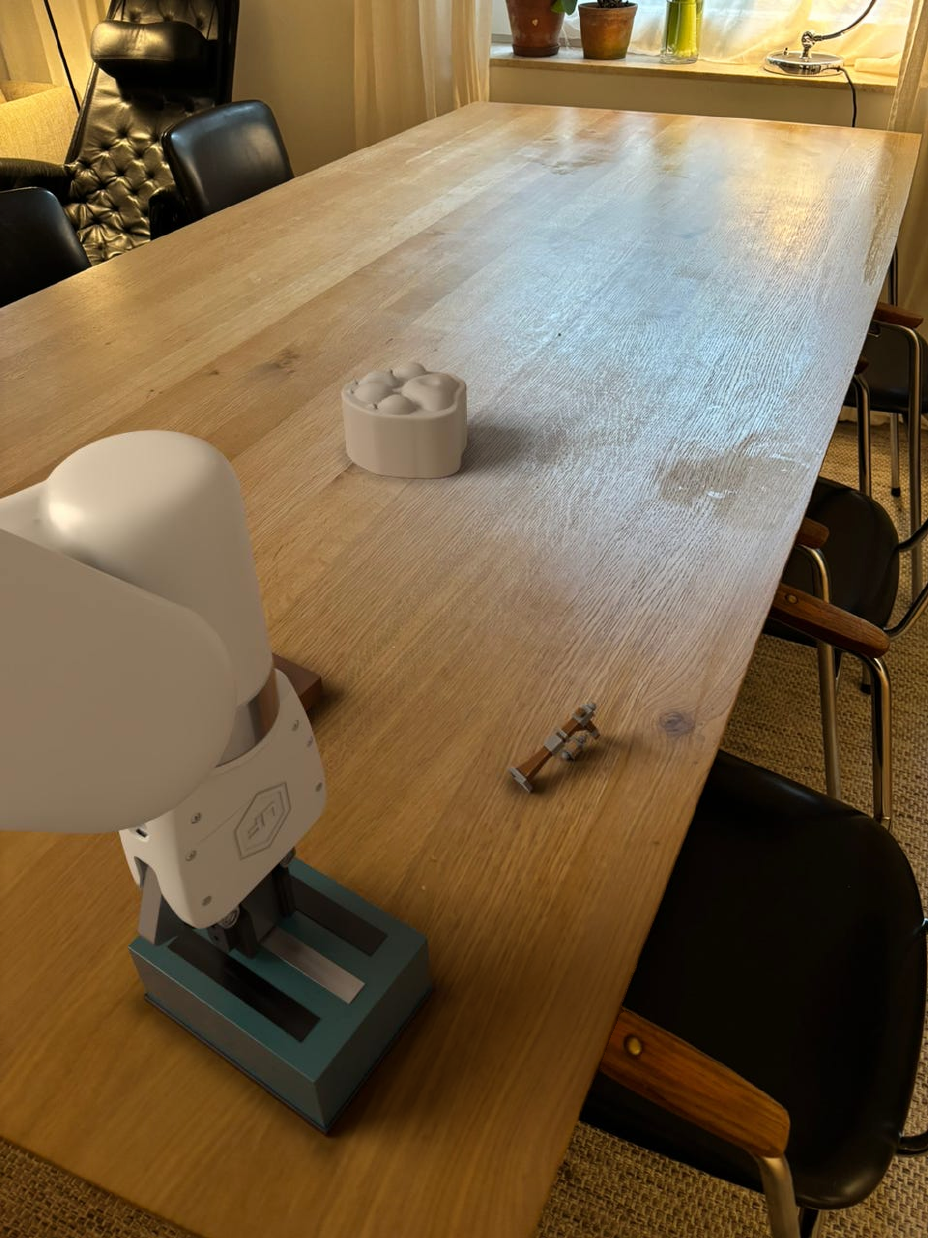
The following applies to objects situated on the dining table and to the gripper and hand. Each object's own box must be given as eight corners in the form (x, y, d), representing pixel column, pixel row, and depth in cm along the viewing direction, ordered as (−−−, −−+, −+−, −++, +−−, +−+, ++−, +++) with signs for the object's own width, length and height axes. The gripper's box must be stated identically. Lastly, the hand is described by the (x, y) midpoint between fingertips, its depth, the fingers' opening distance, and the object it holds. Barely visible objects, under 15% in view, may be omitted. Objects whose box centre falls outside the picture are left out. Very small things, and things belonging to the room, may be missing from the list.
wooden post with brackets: (614, 732, 75) (600, 704, 72) (539, 806, 74) (521, 782, 71) (598, 718, 77) (583, 691, 73) (524, 791, 75) (505, 766, 72)
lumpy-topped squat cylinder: (455, 481, 104) (454, 407, 98) (335, 472, 106) (327, 398, 100) (471, 431, 112) (470, 360, 106) (358, 423, 113) (352, 353, 108)
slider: (253, 947, 56) (238, 895, 53) (227, 930, 57) (211, 877, 53) (281, 916, 57) (269, 863, 54) (256, 900, 58) (242, 847, 55)
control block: (237, 775, 74) (228, 739, 71) (162, 732, 77) (151, 695, 75) (324, 695, 80) (318, 659, 78) (251, 658, 84) (243, 623, 81)
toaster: (326, 1138, 54) (314, 1088, 50) (144, 1001, 60) (120, 946, 56) (436, 990, 61) (433, 935, 57) (261, 879, 67) (247, 823, 63)
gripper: (113, 858, 38) (201, 1076, 50) (368, 628, 49) (390, 855, 61) (-8, 776, 42) (101, 1000, 54) (254, 577, 52) (297, 802, 64)
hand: (254, 921), depth 57 cm, fingers closed on slider, 2 cm apart
